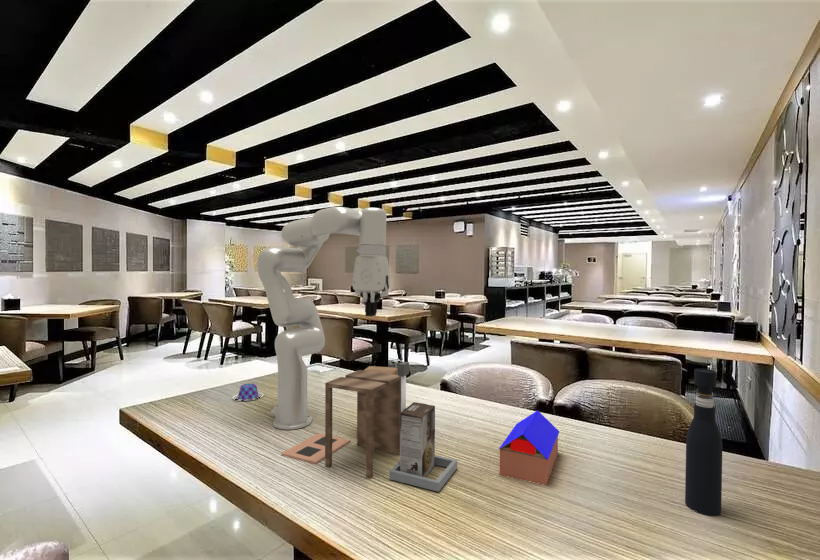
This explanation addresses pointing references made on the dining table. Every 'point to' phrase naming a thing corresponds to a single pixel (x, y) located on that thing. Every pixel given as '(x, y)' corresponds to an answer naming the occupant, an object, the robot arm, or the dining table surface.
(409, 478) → the cradle
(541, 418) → the house
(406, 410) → the coffee box
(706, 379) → the wine bottle
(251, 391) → the purple checkered hat
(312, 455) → the board
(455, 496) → the dining table surface
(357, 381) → the brown wooden stand
